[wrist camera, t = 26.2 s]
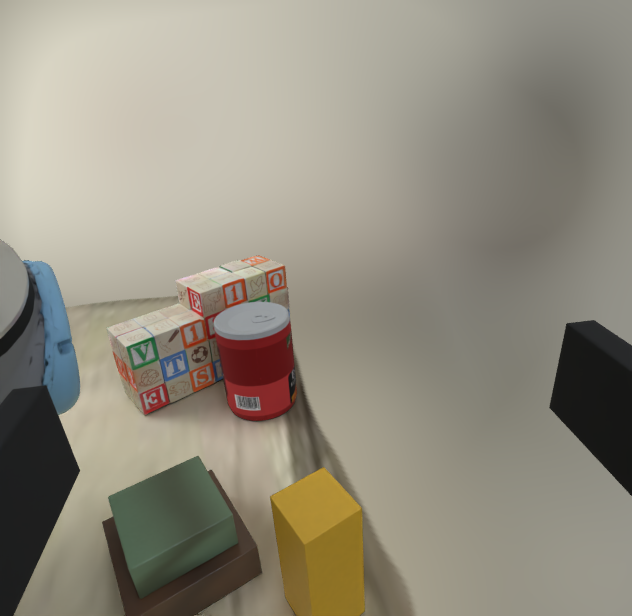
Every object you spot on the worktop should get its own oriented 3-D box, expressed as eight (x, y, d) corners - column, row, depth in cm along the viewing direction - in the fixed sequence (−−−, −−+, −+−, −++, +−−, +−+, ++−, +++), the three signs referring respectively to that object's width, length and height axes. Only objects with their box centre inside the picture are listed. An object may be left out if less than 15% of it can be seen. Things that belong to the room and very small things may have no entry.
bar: (316, 649, 29) (304, 544, 24) (285, 597, 32) (269, 496, 28) (365, 611, 31) (362, 508, 26) (331, 565, 34) (323, 466, 29)
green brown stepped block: (138, 650, 29) (115, 593, 27) (111, 547, 36) (90, 494, 34) (262, 573, 34) (252, 517, 31) (216, 493, 41) (205, 442, 38)
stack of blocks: (144, 418, 51) (116, 321, 45) (124, 394, 55) (97, 303, 50) (293, 346, 63) (285, 263, 58) (268, 331, 67) (258, 252, 62)
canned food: (308, 408, 51) (301, 321, 46) (240, 432, 48) (224, 342, 43) (282, 374, 57) (273, 294, 52) (220, 394, 54) (205, 312, 49)
